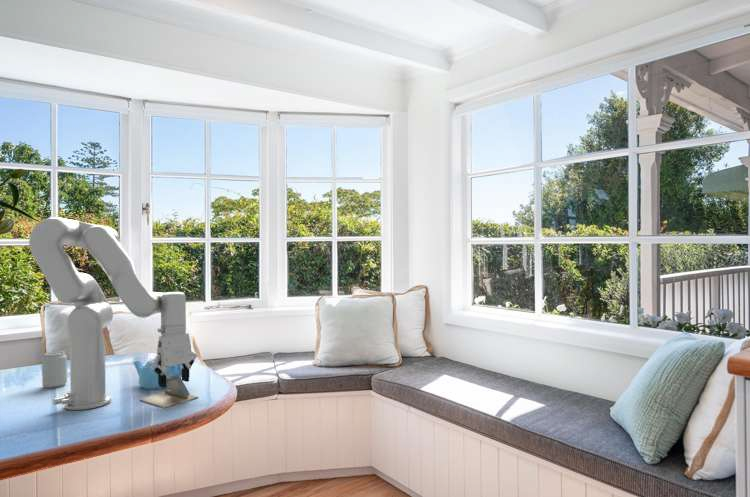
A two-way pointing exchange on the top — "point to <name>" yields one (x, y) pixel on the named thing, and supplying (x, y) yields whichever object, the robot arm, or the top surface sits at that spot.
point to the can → (54, 369)
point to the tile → (176, 385)
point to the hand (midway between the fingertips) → (174, 383)
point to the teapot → (154, 374)
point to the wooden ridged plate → (166, 399)
